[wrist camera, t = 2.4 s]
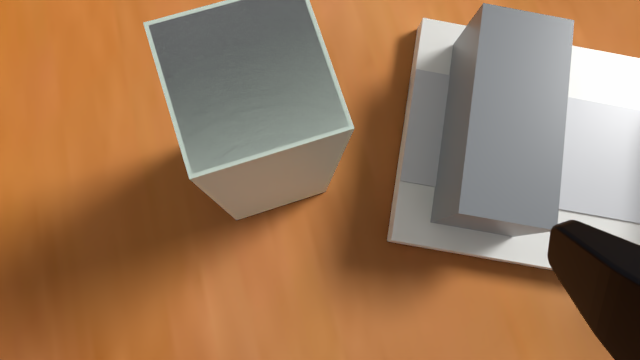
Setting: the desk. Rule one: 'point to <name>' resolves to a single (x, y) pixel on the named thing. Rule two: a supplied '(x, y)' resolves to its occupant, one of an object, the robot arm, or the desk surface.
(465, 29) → the rail board
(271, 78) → the block
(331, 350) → the desk surface
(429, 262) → the desk surface
